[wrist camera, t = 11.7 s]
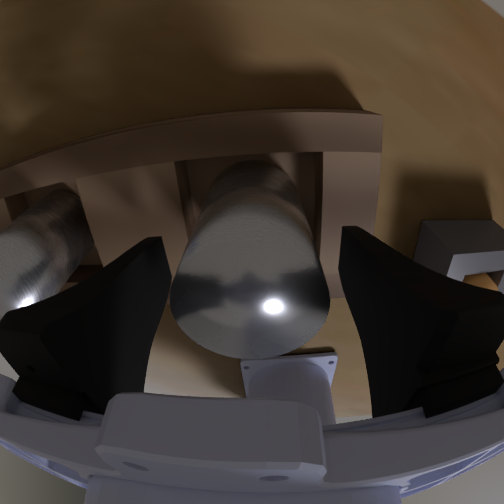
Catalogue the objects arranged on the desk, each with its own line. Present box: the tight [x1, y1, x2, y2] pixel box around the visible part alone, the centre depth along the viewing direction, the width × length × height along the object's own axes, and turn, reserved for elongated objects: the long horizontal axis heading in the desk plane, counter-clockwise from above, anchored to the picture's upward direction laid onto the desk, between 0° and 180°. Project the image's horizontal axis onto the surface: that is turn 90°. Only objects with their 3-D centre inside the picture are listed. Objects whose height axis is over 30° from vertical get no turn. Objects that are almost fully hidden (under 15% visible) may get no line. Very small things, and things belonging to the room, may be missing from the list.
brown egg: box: [463, 272, 498, 291], centre depth 15 cm, size 3×3×4 cm
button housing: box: [413, 220, 504, 294], centre depth 16 cm, size 7×7×4 cm
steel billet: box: [170, 160, 330, 359], centre depth 12 cm, size 5×5×8 cm
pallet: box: [0, 108, 383, 305], centre depth 15 cm, size 10×24×2 cm, turn 94°
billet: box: [0, 189, 95, 320], centre depth 13 cm, size 5×5×8 cm
